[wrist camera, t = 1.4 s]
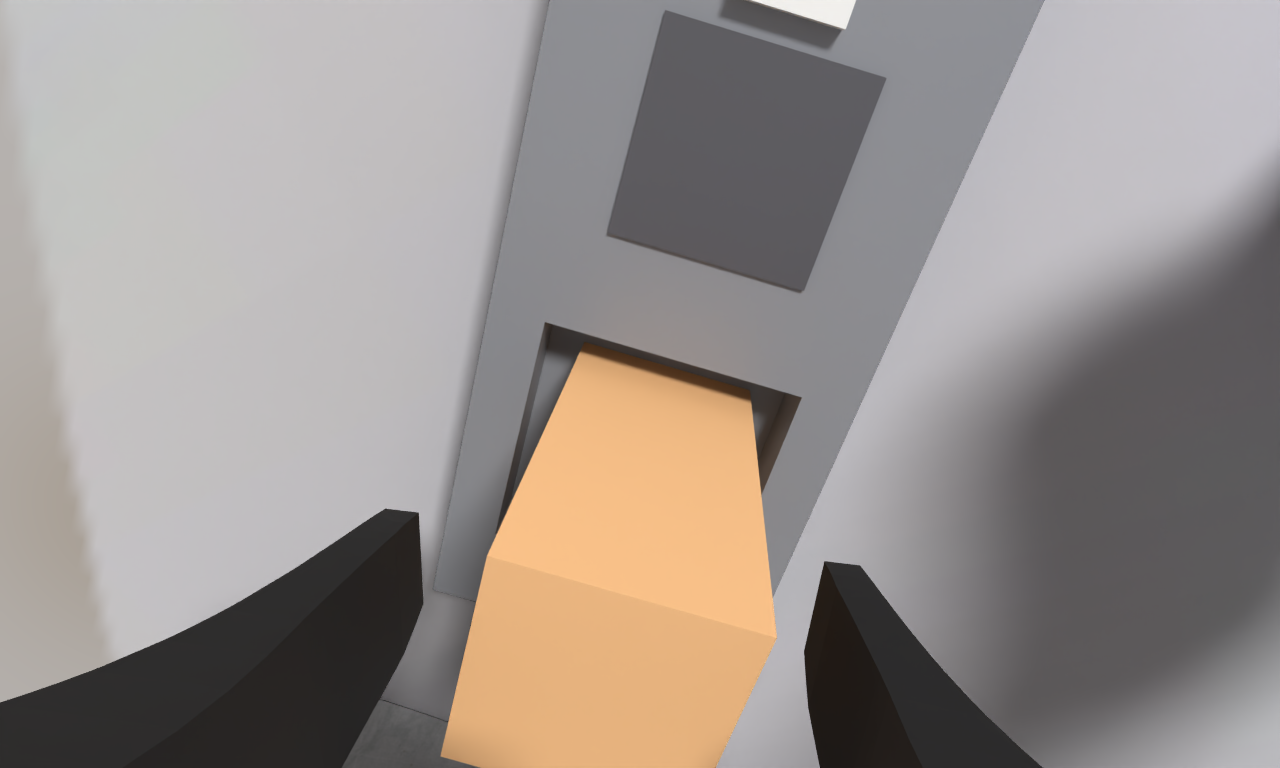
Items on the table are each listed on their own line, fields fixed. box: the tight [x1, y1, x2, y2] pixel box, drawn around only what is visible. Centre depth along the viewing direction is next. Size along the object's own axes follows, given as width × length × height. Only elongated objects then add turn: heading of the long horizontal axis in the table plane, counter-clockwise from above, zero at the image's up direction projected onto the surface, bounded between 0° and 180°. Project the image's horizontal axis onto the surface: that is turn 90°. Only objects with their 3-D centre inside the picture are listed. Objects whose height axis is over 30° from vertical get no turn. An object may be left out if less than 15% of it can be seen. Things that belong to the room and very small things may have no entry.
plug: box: [440, 342, 777, 768], centre depth 14 cm, size 4×4×8 cm
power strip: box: [433, 0, 1044, 602], centre depth 14 cm, size 8×24×2 cm, turn 164°
